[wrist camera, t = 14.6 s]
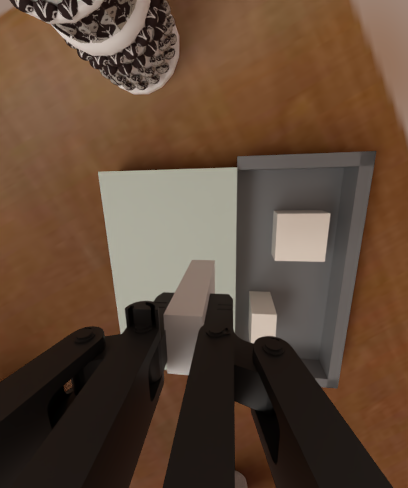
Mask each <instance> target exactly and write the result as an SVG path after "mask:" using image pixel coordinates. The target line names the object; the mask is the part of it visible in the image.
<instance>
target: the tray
mask: <svg viewBox="0 0 408 488" xmlns="http://www.w3.org/2000/svg"><path fill="white" fill-rule="evenodd" d="M375 157H376V151H366V152H340V153H314V154H288V155H262V156H237V223H236V296H235V334H236V335H237V336H238V337H239V338H241V339H242V340H245V341H247V342H250V341H249V329H248V317H249V291H260V292H270V293H271V297H272V300H273V303H274V307H275V310H276V313H277V322H276V337H278V338H281V339H283V340H284V341H286V342H288V343H289V344H290V345H291V346H292V348H293V349H294V350H295V352H296V353H297V354H298V356H299V357H300V359H301V360H302V361H303V363H304V364H305V366H306V367H307V368H308V370H309V371H310V373H311V374H312V375H313V377H314V378H315V380H316V381H317V382H318V384H319V385H320V386H321V387H327V388H338V382H339V376H340V370H341V364H342V358H343V352H344V346H345V340H346V334H347V328H348V321H349V315H350V309H351V303H352V297H353V291H354V285H355V279H356V273H357V267H358V260H359V254H360V248H361V242H362V236H363V230H364V224H365V218H366V212H367V206H368V199H369V193H370V187H371V181H372V175H373V169H374V163H375ZM281 210H322V211H325V212H328V213H331V214H330V222H329V231H328V239H327V247H326V256H325V262H308V261H275V260H274V258H273V256H272V254H271V250H272V231H273V213H274V211H281Z"/></svg>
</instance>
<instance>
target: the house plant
mask: <svg viewBox="0 0 408 488" xmlns="http://www.w3.org/2000/svg"><path fill="white" fill-rule="evenodd" d="M235 488H247V482H246V479H245V477H244V476H243V475H242V474H241V473H239V472H238V471H235Z"/></svg>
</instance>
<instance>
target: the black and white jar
mask: <svg viewBox="0 0 408 488" xmlns="http://www.w3.org/2000/svg"><path fill="white" fill-rule="evenodd" d="M10 1H11V3H12V4H13V5H14V6H15V7H16V8H17V9H19V10H20V11H22V12H25V13H27V14H29V15H31V16H33V17H35V18H38V19H40V20H42V21H44V22H46V23H48V24H51V25H52V26H53V27H54V28H55V29H56V31H57V32H58V33H59V34H60V35H61V36H62V37H63V38H64V40H65V42H66V43H67V44H68V45H69V46H70V47H71V48H73V49H77V53H78V55H79V57H80V58H81V59H83V60H86V61H89V62H90V65H91V66H92V67H93V68H95V69H99V70H100V72H101V74H102V75H103V76H104V77H105V78H107V79H110V81H111V82H112V83H113V84H115V85H118V86H119V87H120V88H121V89H124V90H126V91H128V92H130V93H132V94H150V93H152V92H154V91H156V90H158V89H160V88H162V87H163V86H164V85H165V84H166V82H167V81H168V80H169V79H170V78H171V76H172V75H173V74H174V71H175V68H176V65H177V62H178V59H179V34H178V31H177V28H176V25H175V19H174V18H173V16H172V15H171V14H170V13H171V9H170V6H169V4H168V2H167V1H166V0H10Z"/></svg>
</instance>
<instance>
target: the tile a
mask: <svg viewBox="0 0 408 488" xmlns="http://www.w3.org/2000/svg"><path fill="white" fill-rule="evenodd" d="M276 322H277V313H276V310H275V307H274V303H273V300H272V297H271V293H270V292H260V291H249V317H248V329H249V341H250V343H254V342H255V340H257V339H258V338H260V337H264V336H274V337H276Z"/></svg>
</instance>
